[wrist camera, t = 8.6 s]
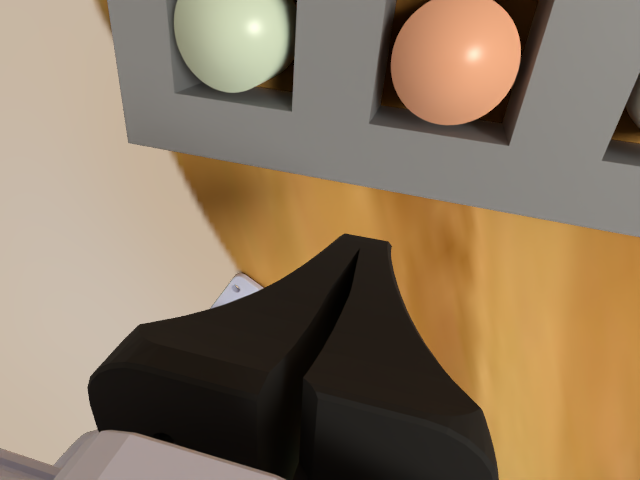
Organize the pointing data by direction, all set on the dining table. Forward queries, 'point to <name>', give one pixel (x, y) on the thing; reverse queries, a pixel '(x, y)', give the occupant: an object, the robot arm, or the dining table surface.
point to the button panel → (408, 111)
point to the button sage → (236, 40)
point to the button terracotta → (455, 60)
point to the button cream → (634, 103)
